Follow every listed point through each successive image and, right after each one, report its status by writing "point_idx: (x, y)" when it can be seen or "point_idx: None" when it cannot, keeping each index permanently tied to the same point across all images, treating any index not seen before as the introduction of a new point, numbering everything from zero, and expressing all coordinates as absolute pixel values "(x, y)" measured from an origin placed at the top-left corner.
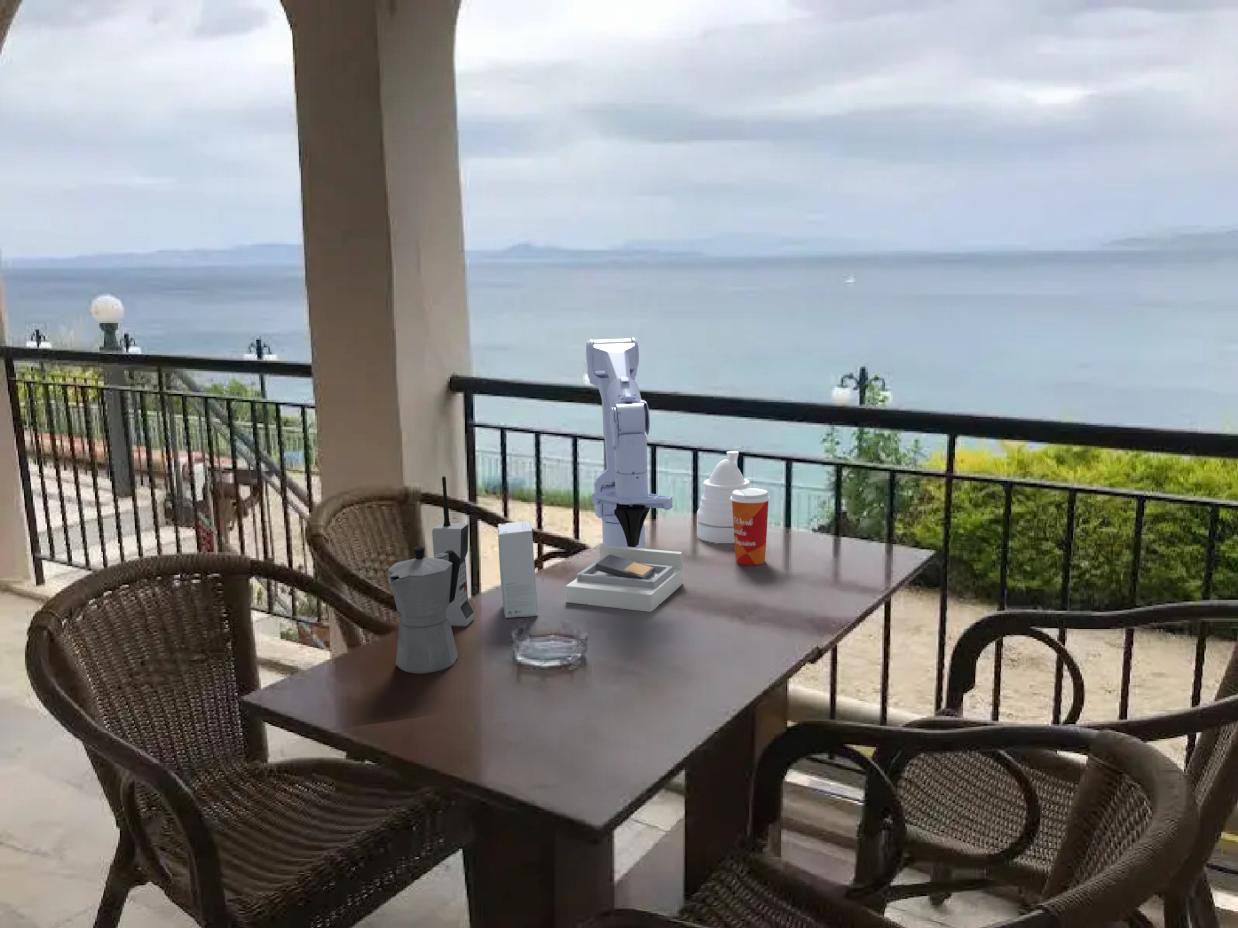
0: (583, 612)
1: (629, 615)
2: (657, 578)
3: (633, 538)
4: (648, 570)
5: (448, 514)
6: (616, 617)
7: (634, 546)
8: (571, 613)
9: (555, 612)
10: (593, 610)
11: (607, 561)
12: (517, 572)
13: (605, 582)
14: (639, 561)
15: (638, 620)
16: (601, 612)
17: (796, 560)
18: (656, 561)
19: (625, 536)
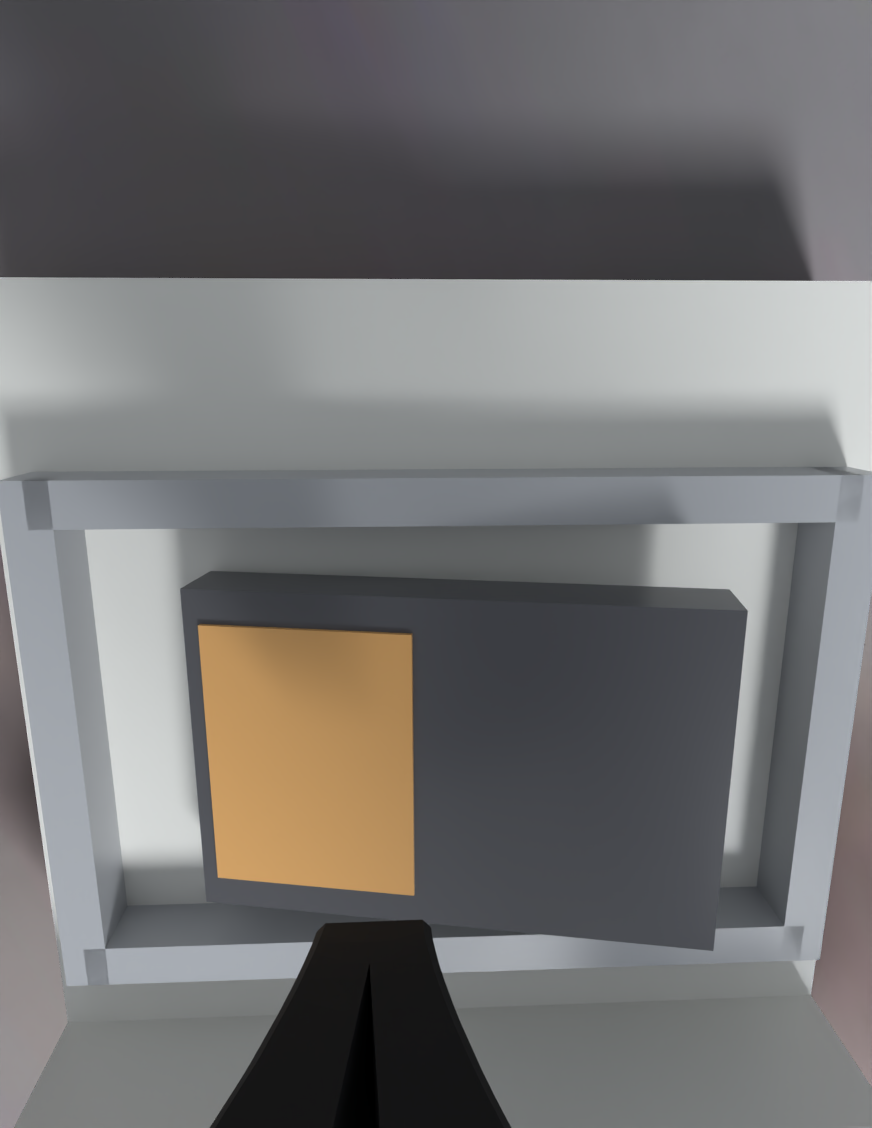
0: (589, 98)
1: (181, 153)
2: (18, 603)
3: (297, 1007)
4: (211, 784)
5: None
6: (264, 63)
7: (318, 930)
8: (680, 37)
9: (824, 16)
10: (526, 177)
11: (656, 752)
12: None
13: (551, 471)
14: None
15: (48, 49)
16: (441, 149)
17: None
18: None
19: (451, 1019)
